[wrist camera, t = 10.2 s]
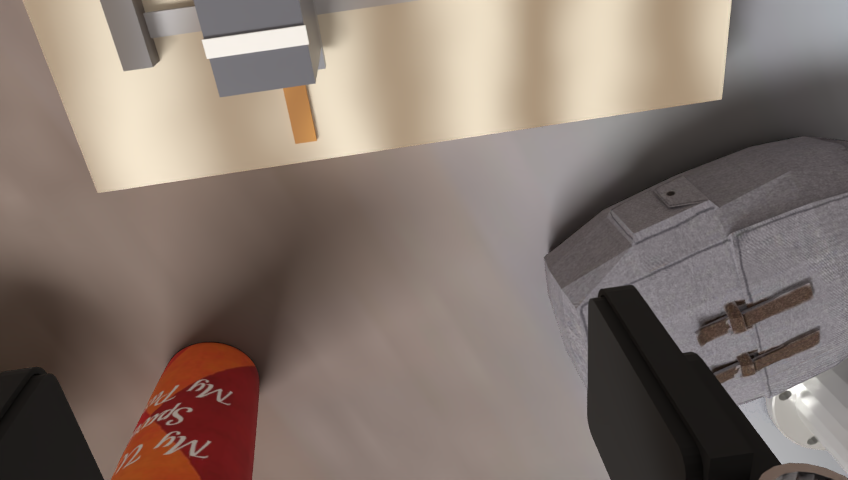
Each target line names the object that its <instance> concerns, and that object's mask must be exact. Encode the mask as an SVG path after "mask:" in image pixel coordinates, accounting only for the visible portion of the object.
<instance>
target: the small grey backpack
mask: <svg viewBox="0 0 848 480" xmlns="http://www.w3.org/2000/svg"><path fill="white" fill-rule="evenodd" d="M544 261H545V271H546V280H547V289H548V294H549V298H550V301H551V304H552V308H553V311H554V314H555V317H556V320H557V323H558V326H559V329H560V333H561V336H562V339H563V342H564V345H565V348H566V351H567V353H568V354H569V356H570V358H571V360H572V362H573V364H574V366H575V368H576V370H577V372H578V374H579V376H580V377H581V379H582V381H583V383H584V385H585V387H586V388H587V389H588V302H589V299H591V298H598V293H599V290H600V289H603V288H610V287H617V286H624V285H634V286H635V288H636V289H637V290H638V291H639V293H640V294H641V296H642V297H643V298H644V300H645V301H646V303H647V304H648V305H649V307H650V308H651V310H652V311H653V312H654V314H655V315H656V317H657V318H658V319H659V321H660V322H661V324H662V325H663V326H664V328H665V329H666V331H667V332H668V333H669V335H670V336H671V338H672V339H673V340H674V342H675V343H676V345H677V346H678V347H679V349H680V350H681V351H682V353H685V352H694V353H697V354H698V355H699V356H700V357H701V358H702V359H703V361H704V362H705V363H706V365H707V366H708V367H709V369H710V370H711V371H712V373H713V374H714V375H715V377H716V378H717V379H718V381H719V382H720V383H721V385H722V386H723V387H724V389H725V390H726V391H727V393H728V394H729V395H730V397H731V398H732V399H733V401H734V402H735V403H736V405H737V406H739V405H742V404H745V403H748V402H751V401H753V400H755V399H758V398H761V397H764V396H765V397H767V398H769V399H770V398H772V397H774V396H776V395H778V394H780V393H782V392H784V391H786V390H788V389H790V388H792V387H794V386H797V385H799V384H801V383H803V382H805V381H807V380H809V379H811V378H813V377H815V376H817V375H819V374H821V373H823V372H825V371H827V370H829V369H831V368H833V367H835V366H837V365H838V364H840V363H841V362H842V361H844V360H845V359H846V358H848V141H843V140H834V139H826V138H817V137H808V136H801V137H796V138H791V139H786V140H781V141H776V142H771V143H766V144H761V145H756V146H751V147H748V148H746V149H743V150H740V151H738V152H735V153H732V154H730V155H727V156H725V157H722V158H719V159H717V160H714V161H712V162H709V163H706V164H704V165H701V166H699V167H696V168H693V169H691V170H688V171H686V172H683V173H680V174H678V175H675V176H673V177H671V178H669V179H667V180H665V181H663V182H660V183H658V184H656V185H654V186H652V187H650V188H648V189H646V190H644V191H642V192H640V193H637V194H635V195H633V196H631V197H629V198H627V199H625V200H623V201H621V202H619V203H617V204H614V205H612V206H610V207H608V208H606V209H604V210H602V211H601V212H600V213H599V214H597V215H596V216H595V217H594V218H592V219H591V220H590V221H589V222H588V223H586V224H585V225H584V226H583V227H581V228H580V229H579V230H578V231H576V232H575V233H574V234H573V235H571V236H570V237H569V238H568V239H566V240H565V241H564V242H563V243H561V244H560V245H559V246H558V247H556V248H555V249H554V250H553V251H551V252H550V253H548V254H547V255H546V256H545V257H544Z"/></svg>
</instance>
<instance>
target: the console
mask: <svg viewBox="0 0 848 480" xmlns="http://www.w3.org/2000/svg"><path fill="white" fill-rule="evenodd" d="M314 2H315V8H316V13H317V18H318V24H319V29H320V34H321V39H322V45H323V50H324V55H325V61H326V69H319V70H318V72H317V78H316V84H309V85H302V86H295V87H288V88H282V89H275V90H268V91H261V92H254V93H247V94H240V95H233V96H227V97H219V93H218V89H217V85H216V82H215V78H214V74H213V71H212V67H211V63H210V60H209V59H207V57H206V54H205V50H204V47H203V43H202V39H204V38H203V34H202V30H201V27H200V23H199V19H198V16H197V12H196V8H195V5H194V1H193V0H23V3H24V5H25V8H26V10H27V13H28V15H29V18H30V21H31V23H32V26H33V28H34V31H35V33H36V36H37V39H38V41H39V44H40V46H41V49H42V51H43V54H44V56H45V59H46V62H47V64H48V67H49V69H50V72H51V74H52V77H53V80H54V82H55V85H56V87H57V90H58V92H59V95H60V98H61V100H62V103H63V105H64V108H65V110H66V113H67V115H68V118H69V121H70V123H71V126H72V128H73V131H74V133H75V136H76V139H77V141H78V144H79V146H80V149H81V151H82V154H83V157H84V159H85V162H86V164H87V167H88V169H89V172H90V174H91V177H92V180H93V182H94V185H95V187H96V190H97V192H98V193H101V192H108V191H115V190H121V189H128V188H135V187H141V186H148V185H155V184H161V183H168V182H175V181H181V180H188V179H195V178H201V177H208V176H215V175H221V174H228V173H235V172H241V171H248V170H255V169H261V168H268V167H275V166H281V165H288V164H295V163H301V162H308V161H315V160H321V159H328V158H335V157H341V156H348V155H355V154H361V153H368V152H375V151H381V150H388V149H395V148H401V147H408V146H415V145H421V144H428V143H435V142H441V141H448V140H455V139H461V138H468V137H475V136H481V135H488V134H495V133H501V132H508V131H515V130H521V129H528V128H535V127H541V126H548V125H555V124H561V123H568V122H575V121H581V120H588V119H594V118H601V117H608V116H614V115H621V114H628V113H634V112H641V111H648V110H654V109H661V108H668V107H674V106H681V105H688V104H694V103H701V102H708V101H714V100H721V99H722V93H723V82H724V72H725V62H726V52H727V42H728V32H729V22H730V12H731V2H732V0H314Z"/></svg>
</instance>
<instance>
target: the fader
mask: <svg viewBox="0 0 848 480" xmlns="http://www.w3.org/2000/svg"><path fill="white" fill-rule="evenodd" d="M193 1H194V5H195V8H196V12H197V16H198V19H199V23H200V27H201V30H202V34H203V38H204V39H202V43H203V47H204V50H205V54H206V57H207V59H209V60H210V63H211V67H212V71H213V74H214V78H215V82H216V85H217V89H218V93H219V97H227V96H233V95H240V94H247V93H254V92H261V91H268V90H275V89H282V88H288V87H295V86H302V85H309V84H316V78H317V72H318V70H319V69H326V61H325V55H324V50H323V45H322V39H321V34H320V29H319V24H318V18H317V13H316V8H315V2H314V0H193Z"/></svg>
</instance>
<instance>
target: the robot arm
mask: <svg viewBox="0 0 848 480" xmlns="http://www.w3.org/2000/svg"><path fill="white" fill-rule="evenodd" d="M766 407H767V410H768V414H769V416H770V418H771V419H772V421H773V422H774V424H775V425H776V427H777V428H778V429H779V430H780V431H781V432H782V433H783V435H784V436H785V437H786V438H788V439H789V440H791V441H792V442H794V443H795V444H797V445H800V446H803V447H805V448H810V449H817V450H827V451H828V452H829V453H830V454H831V456H832V457H833V458H834V459H835V460H836V461H837V462H838V464H839V465H840V466H841V467H842V468H843V469H844V471H845V472H846V473H847V474H848V358H846V359H845V360H844V361H842V362H841V363H840V364H838V365H837V366H835V367H833V368H831V369H829V370H827V371H825V372H823V373H821V374H819V375H817V376H815V377H813V378H811V379H809V380H807V381H805V382H803V383H801V384H799V385H797V386H794V387H792V388H790V389H788V390H786V391H784V392H782V393H780V394H778V395H776V396H774V397H772V398H770V399H769V398H767V397H766ZM587 416H588V424H589V428H590V432H591V435H592V437H593V440H594V442H595V444H596V446H597V449H598V451H599V453H600V456H601V458H602V460H603V463H604V465H605V467H606V470H607V472H608V474H609V477H610V479H611V480H848V478H847V477H845V476H843V475H841V474H838V473H836V472H834V471H831V470H829V469H827V468H824V467H819V466H815V465H811V464H804V463H787V464H783V465H782V464H781V463H780V462H779V460H778V459H777V458H776V456H775V455H774V454H773V453H772V451H771V450H770V449H769V447H768V446H767V445H766V443H765V442H764V441H763V439H762V438H761V437H760V435H759V434H758V433H757V431H756V430H755V429H754V427H753V426H752V425H751V423H750V422H749V421H748V419H747V418H746V417H745V415H744V414H743V413H742V411H741V410H740V409H739V407H738V406H737V405H736V403H735V402H734V401H733V399H732V398H731V397H730V395H729V394H728V393H727V391H726V390H725V389H724V387H723V386H722V385H721V383H720V382H719V381H718V379H717V378H716V377H715V375H714V374H713V373H712V371H711V370H710V369H709V367H708V366H707V365H706V363H705V362H704V361H703V359H702V358H701V357H700V356H699V355H698V354H697V353H694V352H685V353H682V351H681V350H680V349H679V347H678V346H677V345H676V343H675V342H674V340H673V339H672V338H671V336H670V335H669V333H668V332H667V331H666V329H665V328H664V326H663V325H662V324H661V322H660V321H659V319H658V318H657V317H656V315H655V314H654V312H653V311H652V310H651V308H650V307H649V305H648V304H647V303H646V301H645V300H644V298H643V297H642V296H641V294H640V293H639V291H638V290H637V289H636V288H635V286H634V285H624V286H617V287H610V288H603V289H600V290H599V293H598V298H591V299H589V302H588V391H587ZM0 480H104V479H103V476H102V474H101V472H100V470H99V468H98V466H97V464H96V461H95V459H94V457H93V455H92V453H91V451H90V449H89V446H88V444H87V442H86V440H85V438H84V436H83V433H82V431H81V429H80V427H79V425H78V423H77V421H76V418H75V416H74V414H73V412H72V410H71V408H70V406H69V403H68V401H67V399H66V397H65V395H64V393H63V390H62V388H61V386H60V384H59V382H58V380H57V378H56V377H55V376H54V375H53V374H47V373H46V372H45V371H44V370H43V369H42V368H39V367H32V368H25V369H18V370H11V371H5V372H2V373H0Z"/></svg>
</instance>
